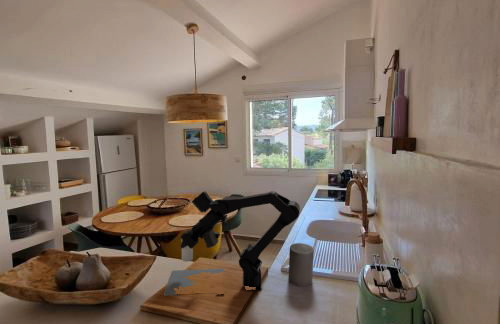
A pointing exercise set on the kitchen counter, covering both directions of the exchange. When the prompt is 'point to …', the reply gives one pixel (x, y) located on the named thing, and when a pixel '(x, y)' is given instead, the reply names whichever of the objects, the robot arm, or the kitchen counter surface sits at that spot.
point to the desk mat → (184, 279)
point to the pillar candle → (301, 264)
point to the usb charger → (187, 254)
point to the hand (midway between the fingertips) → (184, 245)
